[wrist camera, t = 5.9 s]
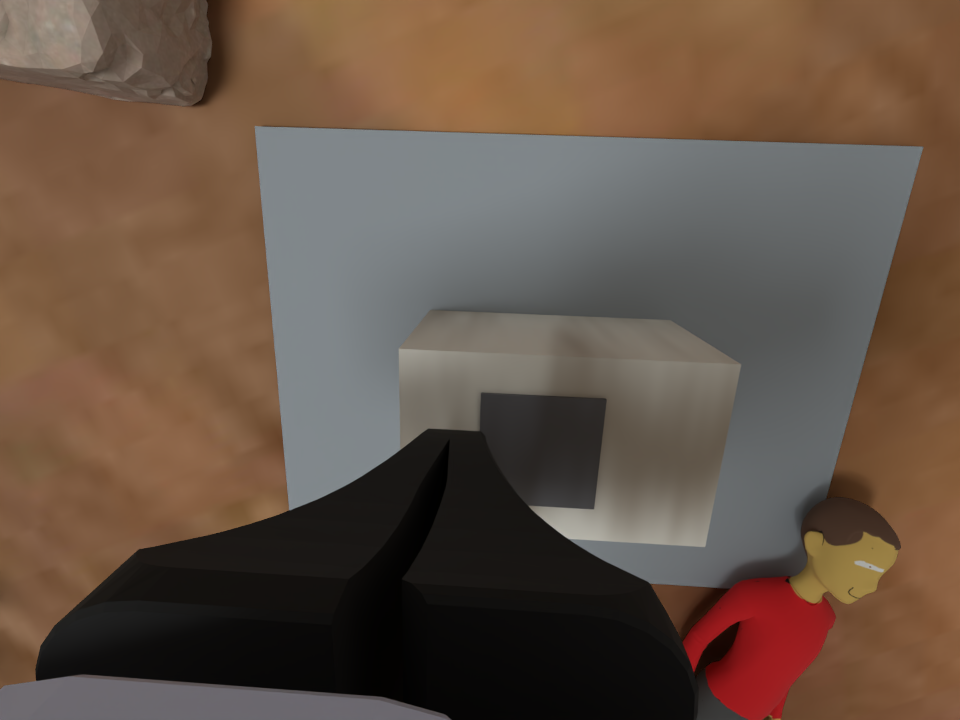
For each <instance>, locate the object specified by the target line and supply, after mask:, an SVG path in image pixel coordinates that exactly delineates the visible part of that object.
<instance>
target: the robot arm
mask: <svg viewBox="0 0 960 720" xmlns="http://www.w3.org/2000/svg"><path fill="white" fill-rule="evenodd" d="M35 670H36V681H34V682H27V683H20V684H13V685H7V686H3V687H2V688H1V689H0V720H696V719H697V714H698V698H699V687H698V684H697V681H696V678H695V675H694V671H693V668H692V665H691V662H690V660H689V657H688V655H687V652H686V650H685V648H684V645H683V643H682V641H681V639H680V636H679V634H678V632H677V631H676V629H675V627H674V625H673V623H672V621H671V620H670V618H669V616H668V614H667V612H666V611H665V609H664V607H663V605H662V604H661V602H660V600H659V599H658V597H657V595H656V593H655V592H654V590H653V588H652V587H651V585H650V583H649V582H647V581H645V580H643V579H641V578H639V577H637V576H635V575H633V574H631V573H629V572H627V571H624V570H622V569H620V568H618V567H616V566H614V565H612V564H610V563H608V562H606V561H604V560H602V559H600V558H598V557H596V556H595V555H593V554H591V553H590V552H588V551H587V550H585V549H583V548H582V547H580V546H578V545H577V544H575V543H574V542H572V541H571V540H569V539H568V538H566V537H565V536H563V535H562V534H561V533H559V532H558V531H557V530H555V529H554V528H553V527H552V526H550V525H549V524H548V523H547V522H545V521H544V520H543V519H542V518H541V517H539V516H538V515H537V514H536V513H535V512H534V511H533V510H532V509H531V508H530V507H529V506H528V505H527V504H526V503H525V502H524V501H523V500H522V498H521V497H520V496H519V495H518V494H517V492H516V491H515V490H514V488H513V487H512V486H511V484H510V483H509V482H508V480H507V479H506V477H505V476H504V474H503V473H502V471H501V470H500V468H499V466H498V465H497V463H496V461H495V459H494V458H493V456H492V454H491V451H490V449H489V447H488V445H487V442H486V436H485V435H484V434H483V433H482V432H481V431H467V430H448V429H430V428H428V429H427V430H425V431H424V432H423V433H421V434H420V435H419V436H417V437H416V438H415V439H414V440H412V441H411V442H410V443H409V444H407V445H406V446H405V447H403V448H402V449H401V450H399V451H398V452H397V453H395V454H394V455H393V456H391V457H390V458H389V459H387V460H386V461H384V462H383V463H381V464H380V465H378V466H377V467H375V468H374V469H372V470H371V471H369V472H367V473H366V474H364V475H363V476H361V477H360V478H358V479H356V480H355V481H353V482H351V483H349V484H347V485H346V486H344V487H342V488H340V489H338V490H336V491H334V492H332V493H330V494H328V495H326V496H324V497H321V498H319V499H317V500H315V501H312V502H309V503H307V504H304V505H302V506H299V507H297V508H294V509H292V510H289V511H287V512H284V513H282V514H279V515H276V516H274V517H271V518H268V519H264V520H261V521H258V522H255V523H252V524H249V525H245V526H241V527H238V528H234V529H231V530H227V531H224V532H220V533H216V534H212V535H208V536H203V537H198V538H193V539H189V540H184V541H179V542H174V543H170V544H165V545H160V546H155V547H150V548H144V549H139V550H138V551H137V552H135V553H134V554H133V555H132V556H131V557H130V558H129V559H128V560H127V561H125V562H124V563H123V564H122V565H121V566H120V567H119V568H118V569H117V570H115V571H114V572H113V573H112V574H111V575H110V576H109V577H108V578H107V579H106V580H104V581H103V582H102V583H101V584H100V585H99V586H98V587H97V588H96V589H95V590H93V591H92V592H91V593H90V594H89V595H88V596H87V597H86V598H85V599H84V600H82V601H81V602H80V603H79V604H78V605H77V606H76V607H75V608H74V609H73V610H71V611H70V612H69V613H68V614H67V615H66V616H65V617H64V618H63V619H62V620H60V621H59V622H58V623H57V624H56V625H55V626H54V627H53V629H52V630H51V632H50V633H49V635H48V636H47V637H46V639H45V640H44V642H43V643H42V645H41V647H40V651H39V656H38V660H37V664H36V669H35Z"/></svg>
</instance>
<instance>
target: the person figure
mask: <svg viewBox="0 0 960 720" xmlns="http://www.w3.org/2000/svg"><path fill="white" fill-rule="evenodd" d="M801 539H802V543H803V547H804V550H805V553H806V556H807V564H806V566H805V568H804V569H803V570H802V571H801V572H800V573H799V574H798V575H796V576H793V577H791V576H783V577H770V578H754V579H748V580H742V581H740V582H738V583H736V584H735V585H734V586H733V587H732V588H731V589H730V590H729V591H728V592H726V593H725V594H724V595H723V596H722V597H721V599H720V600H719V601H718V602H717V603H716V604H715V605H714V606H713V607H712V608H711V609H710V610H709V611H708V612H707V613H706V614H705V615H704V616H703V617H702V618H701V619H700V620H699V621H698V622H697V623H696V624H695V625H694V626H693V627H692V628H691V630H690V631H689V633H688V634H687V636H686V637H685V639H684V641H683V645H684V648H685V650H686V652H687V655H688V657H689V660H690V662H691V665H692V668H693V671H695V668H696V666H697V664H698V661H699V659H700V656H701V654H702V652H703V650H704V649H705V648H706V647H707V645H708V643H710V642H711V641H712V640H713V639H714V638H716V637H717V636H718V635H719V634H721V633H722V632H723V631H724V630H725V629H727V628H728V627H729V626H731V625H733V624H734V623H736V622H738V621H740V623H739V627H738V631H737V635H736V638H735V641H734V643H733V645H732V646H731V648H730V649H729V651H728V652H727V653H726V655H725V656H724V657H723V658H722V659H721V660H720V661H716V662H712V663H710V664H709V665H708V666H707V667H706V668H705V669H703V670H702V671H701V672H700V673H699V674H698V675H697V677H696V681H697V684H698V687H699V698H698V714H697V719H696V720H781V716H782V710H783V706H784V703H785V700H786V697H787V694H788V691H789V689H790V687H791V685H792V684H793V683H794V682H795V681H796V679H797V678H798V677H799V676H800V675H801V674H802V673H803V672H804V671H805V669H806V668H807V667H808V666H809V665H810V664H811V663H812V662H813V660H814V659H815V658H816V657H817V655H818V654H819V652H820V650H821V648H822V646H823V644H824V641H825V639H826V636H827V633H828V630H829V629H831V628H832V627H833V624H834V622H835V619H836V616H835V614H834V611H833V610H832V608H831V606H830V604H829V602H828V601H827V600H826V599H825V597H824V596H823V593H825V592H828V591H829V592H830V593H831V594H832V595H833V596H834V597H836V598H837V599H838V600H839V601H841V602H843V603H846V604H851V603H853V602H855V601H856V600H858V599H860V598H861V597H862V596H864V595H866V594H868V593H873V592H874V591H876V589H877V585H878V581H879V579H880V578H881V576H882V575H883V574H884V573H885V572H886V571H887V570H888V569H889V568H890V567H891V566H892V565H893V564H894V562H895V560H896V558H897V555H898V550H899V549H900V548H901V545H900V541H899V539H898V537H897V535H896V533H895V532H894V530H893V529H892V528H891V526H890V525H889V524H888V522H887V521H886V520H885V519H884V518H883V517H882V516H881V515H880V514H879V513H878V512H877V511H875V510H874V509H873V508H871V507H869V506H868V505H866V504H864V503H861V502H859V501H856V500H853V499H849V498H843V497H834V498H829V499H825V500H823V501H821V502H819V503H818V504H816V505H815V506H814V507H812V508H811V510H810V511H809V512H808V513H807V515H806V516H805V518H804V520H803V522H802V526H801Z"/></svg>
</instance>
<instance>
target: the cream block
mask: <svg viewBox="0 0 960 720" xmlns="http://www.w3.org/2000/svg"><path fill="white" fill-rule="evenodd" d="M740 369H741V364H740V363H738V362H737V361H735V360H733V359H732V358H730V357H729V356H727V355H725V354H724V353H722V352H721V351H719V350H717V349H716V348H714V347H713V346H711V345H709V344H708V343H706V342H705V341H703V340H701V339H700V338H698V337H697V336H695V335H693V334H692V333H690V332H689V331H687V330H685V329H684V328H682V327H681V326H679V325H677V324H676V323H674V322H673V321H671V320H656V319H632V318H609V317H585V316H561V315H538V314H514V313H490V312H467V311H443V310H430V311H429V312H428V313H427V314H426V316H425V317H424V318H423V319H422V321H421V322H420V323H419V324H418V325H417V327H416V328H415V329H414V330H413V332H412V333H411V334H410V335H409V337H408V338H407V339H406V340H405V342H404V343H403V344H402V345H401V347H400V348H399V404H400V450H401V449H402V448H403V447H405V446H406V445H407V444H409V443H410V442H411V441H412V440H414V439H415V438H416V437H417V436H419V435H420V434H421V433H423V432H424V431H425V430H427V429H428V428H430V429H448V430H467V431H481V432H482V433H483V434H484V435H485V436H486V442H487V445H488V447H489V449H490V451H491V454H492V456H493V458H494V459H495V461H496V463H497V465H498V466H499V468H500V470H501V471H502V473H503V474H504V476H505V477H506V479H507V480H508V482H509V483H510V484H511V486H512V487H513V488H514V490H515V491H516V492H517V494H518V495H519V496H520V497H521V498H522V500H523V501H524V502H525V503H526V504H527V505H528V506H529V507H530V508H531V509H532V510H533V511H534V512H535V513H536V514H537V515H538V516H539V517H541V518H542V519H543V520H544V521H545V522H547V523H548V524H549V525H550V526H552V527H553V528H554V529H555V530H557V531H558V532H559V533H561V534H562V535H563V536H565V537H566V538H568V539H578V540H595V541H611V542H628V543H645V544H661V545H678V546H695V547H705V546H706V540H707V535H708V530H709V525H710V520H711V515H712V510H713V505H714V500H715V495H716V490H717V485H718V480H719V475H720V470H721V465H722V460H723V455H724V449H725V444H726V439H727V434H728V429H729V424H730V419H731V414H732V409H733V404H734V399H735V394H736V389H737V384H738V379H739V374H740Z"/></svg>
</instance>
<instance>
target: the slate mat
mask: <svg viewBox="0 0 960 720" xmlns="http://www.w3.org/2000/svg"><path fill="white" fill-rule="evenodd" d="M255 135H256V146H257V157H258V168H259V179H260V190H261V201H262V212H263V223H264V234H265V245H266V257H267V268H268V279H269V290H270V301H271V312H272V323H273V334H274V345H275V356H276V367H277V378H278V390H279V401H280V412H281V423H282V434H283V445H284V456H285V467H286V478H287V489H288V500H289V510H292V509H294V508H297V507H299V506H302V505H304V504H307V503H309V502H312V501H315V500H317V499H319V498H321V497H324V496H326V495H328V494H330V493H332V492H334V491H336V490H338V489H340V488H342V487H344V486H346V485H347V484H349V483H351V482H353V481H355V480H356V479H358V478H360V477H361V476H363V475H364V474H366V473H367V472H369V471H371V470H372V469H374V468H375V467H377V466H378V465H380V464H381V463H383V462H384V461H386V460H387V459H389V458H390V457H391V456H393V455H394V454H395V453H397V452H398V451H399V450H400V404H399V348H400V347H401V345H402V344H403V343H404V342H405V340H406V339H407V338H408V337H409V335H410V334H411V333H412V332H413V330H414V329H415V328H416V327H417V325H418V324H419V323H420V322H421V321H422V319H423V318H424V317H425V316H426V314H427V313H428V312H429V311H430V310H443V311H467V312H490V313H514V314H538V315H561V316H585V317H609V318H632V319H656V320H671V321H673V322H674V323H676V324H677V325H679V326H681V327H682V328H684V329H685V330H687V331H689V332H690V333H692V334H693V335H695V336H697V337H698V338H700V339H701V340H703V341H705V342H706V343H708V344H709V345H711V346H713V347H714V348H716V349H717V350H719V351H721V352H722V353H724V354H725V355H727V356H729V357H730V358H732V359H733V360H735V361H737V362H738V363H740V364H741V369H740V374H739V379H738V384H737V389H736V394H735V399H734V404H733V409H732V414H731V419H730V424H729V429H728V434H727V439H726V444H725V449H724V455H723V460H722V465H721V470H720V475H719V480H718V485H717V490H716V495H715V500H714V505H713V510H712V515H711V520H710V525H709V530H708V535H707V540H706V546H705V547H695V546H678V545H661V544H645V543H628V542H611V541H595V540H578V539H569V540H571V541H572V542H574V543H575V544H577V545H578V546H580V547H582V548H583V549H585V550H587V551H588V552H590V553H591V554H593V555H595V556H596V557H598V558H600V559H602V560H604V561H606V562H608V563H610V564H612V565H614V566H616V567H618V568H620V569H622V570H624V571H627V572H629V573H631V574H633V575H635V576H637V577H639V578H641V579H643V580H645V581H647V582H649V583H651V584H667V585H682V586H697V587H713V588H728V589H731V588H732V587H733V586H734V585H735V584H736V583H738V582H740V581H742V580H748V579H754V578H770V577H783V576H791V577H793V576H796V575H798V574H799V573H800V572H801V571H802V570H803V569H804V568H805V566H806V564H807V556H806V553H805V550H804V547H803V543H802V539H801V526H802V522H803V520H804V518H805V516H806V515H807V513H808V512H809V511H810V510H811V508H812V507H814V506H815V505H816V504H818V503H819V502H821V501H823V500H825V499H826V497H827V493H828V490H829V486H830V483H831V479H832V475H833V472H834V468H835V465H836V461H837V457H838V454H839V450H840V446H841V443H842V439H843V436H844V432H845V428H846V425H847V421H848V418H849V414H850V410H851V407H852V403H853V399H854V396H855V392H856V389H857V385H858V381H859V378H860V374H861V371H862V367H863V363H864V360H865V356H866V352H867V349H868V345H869V342H870V338H871V334H872V331H873V327H874V323H875V320H876V316H877V313H878V309H879V305H880V302H881V298H882V295H883V291H884V287H885V284H886V280H887V276H888V273H889V269H890V266H891V262H892V258H893V255H894V251H895V248H896V244H897V240H898V237H899V233H900V229H901V226H902V222H903V219H904V215H905V211H906V208H907V204H908V201H909V197H910V193H911V190H912V186H913V182H914V179H915V175H916V172H917V168H918V164H919V161H920V157H921V154H922V150H923V147H915V146H882V145H850V144H817V143H784V142H751V141H718V140H685V139H653V138H620V137H587V136H554V135H521V134H488V133H456V132H423V131H390V130H357V129H324V128H291V127H259V126H255Z"/></svg>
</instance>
